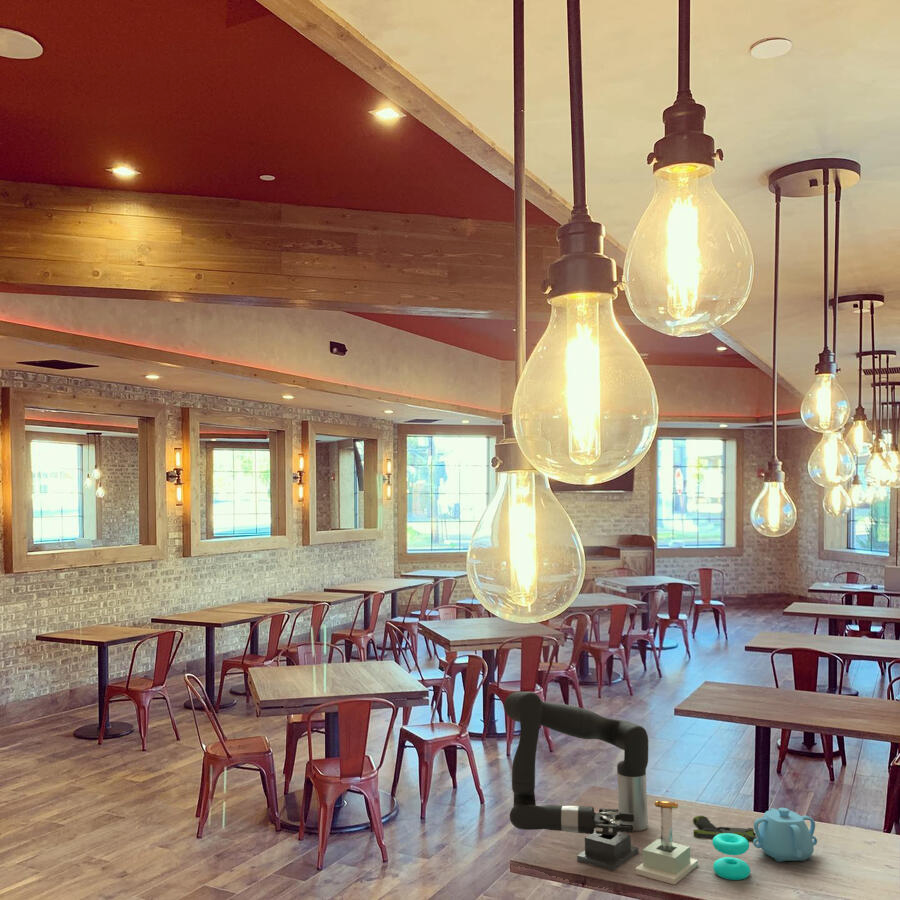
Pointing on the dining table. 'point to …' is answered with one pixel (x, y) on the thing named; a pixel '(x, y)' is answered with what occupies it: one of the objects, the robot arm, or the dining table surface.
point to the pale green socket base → (666, 862)
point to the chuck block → (607, 850)
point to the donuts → (730, 865)
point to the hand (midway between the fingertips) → (633, 823)
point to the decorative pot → (785, 835)
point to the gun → (719, 829)
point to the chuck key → (666, 824)
